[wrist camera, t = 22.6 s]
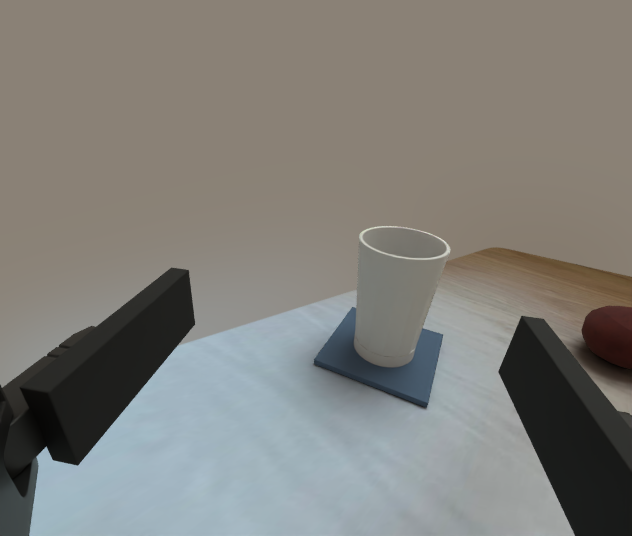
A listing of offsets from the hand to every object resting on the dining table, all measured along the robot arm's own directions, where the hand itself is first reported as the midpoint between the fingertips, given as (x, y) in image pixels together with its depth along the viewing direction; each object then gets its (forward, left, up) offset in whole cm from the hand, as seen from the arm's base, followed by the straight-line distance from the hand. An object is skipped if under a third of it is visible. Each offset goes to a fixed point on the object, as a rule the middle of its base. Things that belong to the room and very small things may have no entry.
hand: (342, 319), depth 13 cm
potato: (+22, +30, -16) cm, 40 cm away
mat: (-1, +18, -15) cm, 24 cm away
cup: (-1, +18, -15) cm, 23 cm away
